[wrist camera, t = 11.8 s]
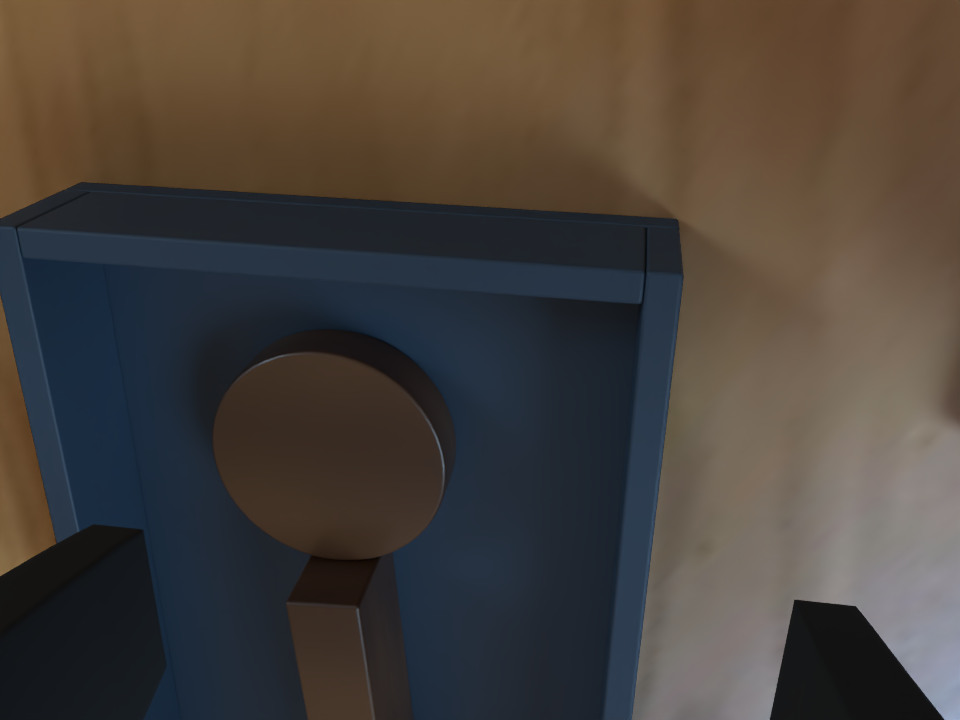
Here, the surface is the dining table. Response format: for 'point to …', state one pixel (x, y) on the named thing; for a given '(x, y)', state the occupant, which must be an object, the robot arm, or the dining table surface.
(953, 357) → the dining table surface
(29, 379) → the tray
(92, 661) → the robot arm
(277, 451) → the wooden spoon
